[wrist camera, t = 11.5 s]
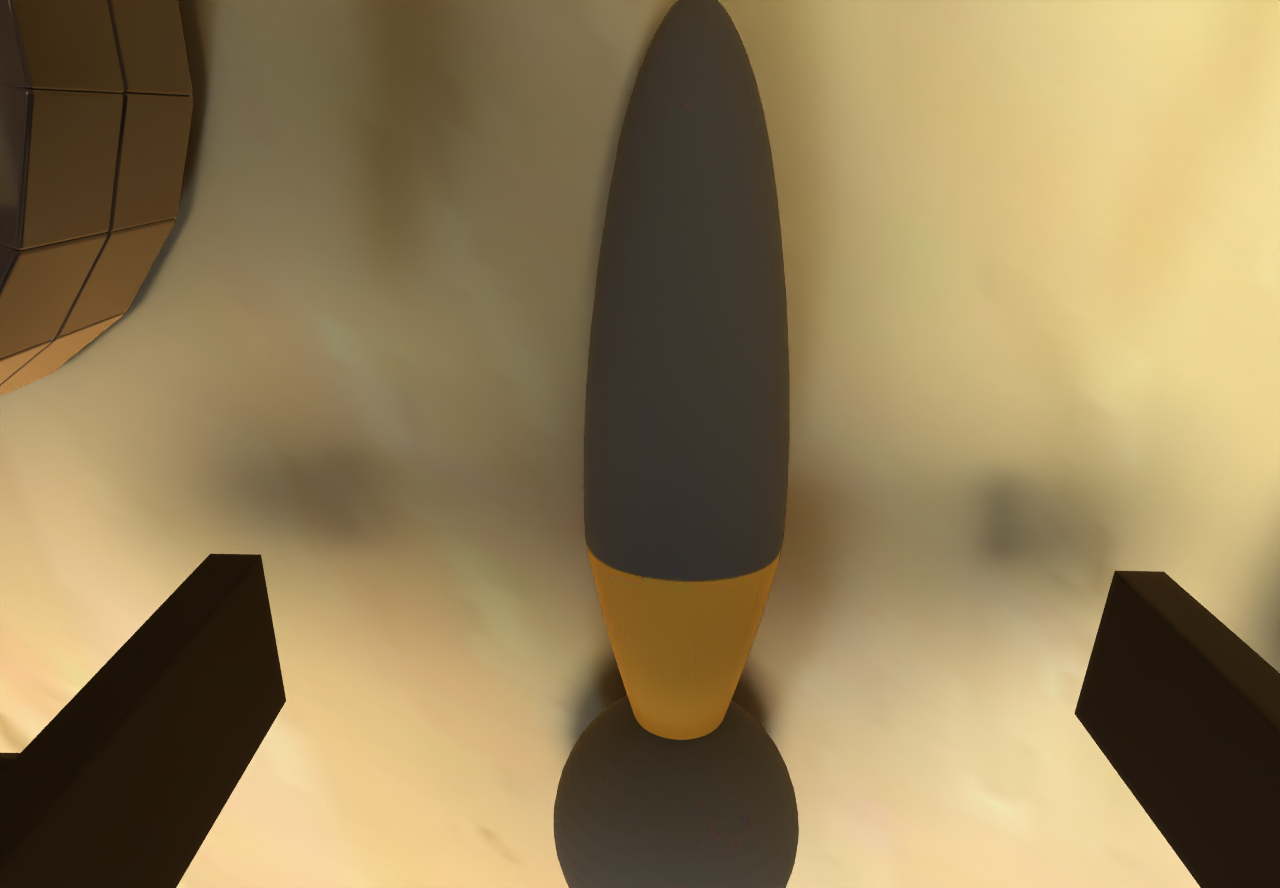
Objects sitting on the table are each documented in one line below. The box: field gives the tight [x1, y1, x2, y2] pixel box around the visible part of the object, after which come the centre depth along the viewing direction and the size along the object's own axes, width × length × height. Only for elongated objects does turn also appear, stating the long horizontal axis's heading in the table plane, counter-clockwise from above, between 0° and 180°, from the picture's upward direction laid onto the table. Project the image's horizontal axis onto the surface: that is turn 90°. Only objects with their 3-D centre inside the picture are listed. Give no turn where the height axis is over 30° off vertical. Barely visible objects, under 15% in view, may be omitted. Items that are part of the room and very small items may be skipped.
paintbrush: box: [554, 0, 799, 888], centre depth 15 cm, size 20×5×5 cm, turn 4°
